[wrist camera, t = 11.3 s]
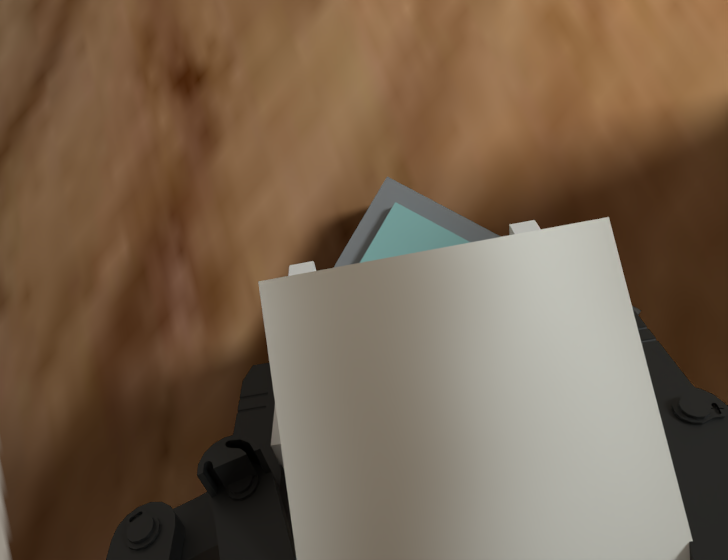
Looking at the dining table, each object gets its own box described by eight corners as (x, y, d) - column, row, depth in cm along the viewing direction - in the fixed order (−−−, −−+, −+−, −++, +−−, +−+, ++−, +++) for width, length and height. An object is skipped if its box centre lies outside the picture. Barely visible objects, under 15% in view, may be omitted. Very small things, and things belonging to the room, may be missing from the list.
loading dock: (389, 200, 26) (386, 171, 22) (608, 316, 24) (647, 309, 20) (246, 443, 25) (216, 459, 21) (466, 585, 23) (478, 632, 19)
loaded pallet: (515, 266, 20) (653, 149, 9) (563, 482, 18) (800, 671, 7) (312, 303, 20) (196, 236, 9) (345, 517, 19) (256, 742, 8)
